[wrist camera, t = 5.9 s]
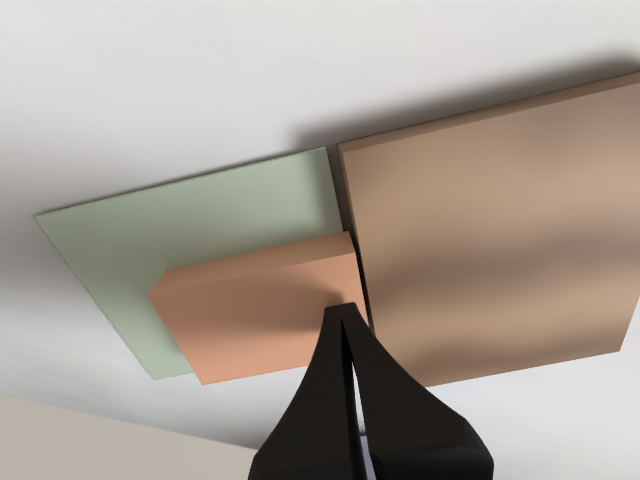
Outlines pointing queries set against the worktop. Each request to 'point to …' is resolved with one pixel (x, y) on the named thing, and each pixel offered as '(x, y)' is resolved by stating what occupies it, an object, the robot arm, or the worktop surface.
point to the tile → (257, 306)
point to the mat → (187, 238)
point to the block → (502, 232)
